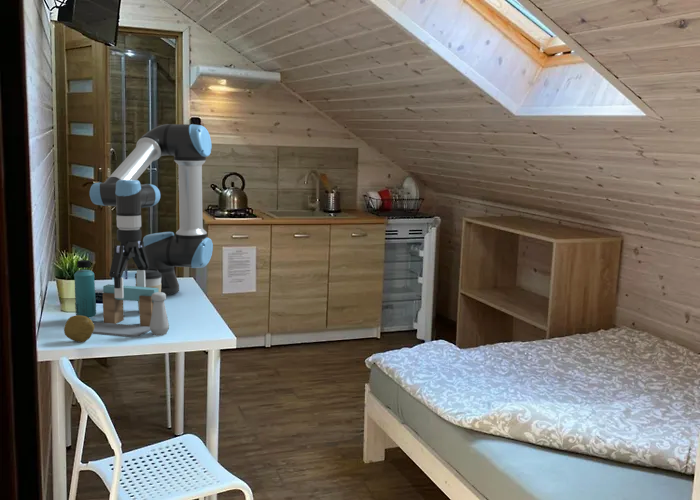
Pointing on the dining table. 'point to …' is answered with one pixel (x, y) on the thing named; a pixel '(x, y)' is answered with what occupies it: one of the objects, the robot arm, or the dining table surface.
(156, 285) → the coffee cup
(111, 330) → the mat
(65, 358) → the dining table surface
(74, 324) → the potato
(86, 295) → the beverage bottle
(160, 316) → the salt shaker
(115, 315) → the post
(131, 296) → the rail
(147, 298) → the post
